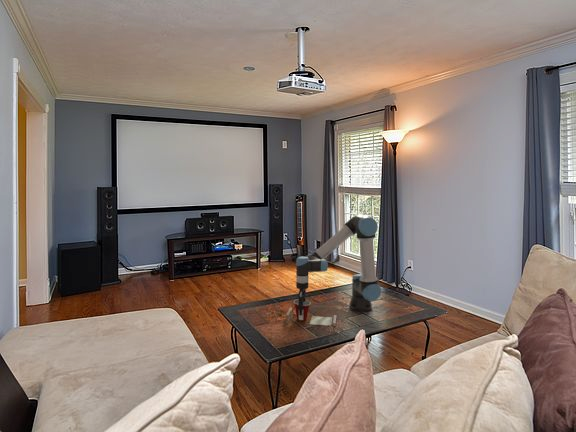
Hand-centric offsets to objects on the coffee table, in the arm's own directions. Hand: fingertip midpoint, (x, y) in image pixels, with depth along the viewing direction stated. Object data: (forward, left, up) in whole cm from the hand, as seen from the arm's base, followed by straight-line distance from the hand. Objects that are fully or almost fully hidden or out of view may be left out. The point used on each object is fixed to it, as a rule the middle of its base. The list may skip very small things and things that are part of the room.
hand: (302, 316), depth 237 cm
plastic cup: (0, 0, -2) cm, 2 cm away
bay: (-6, 0, -2) cm, 6 cm away
